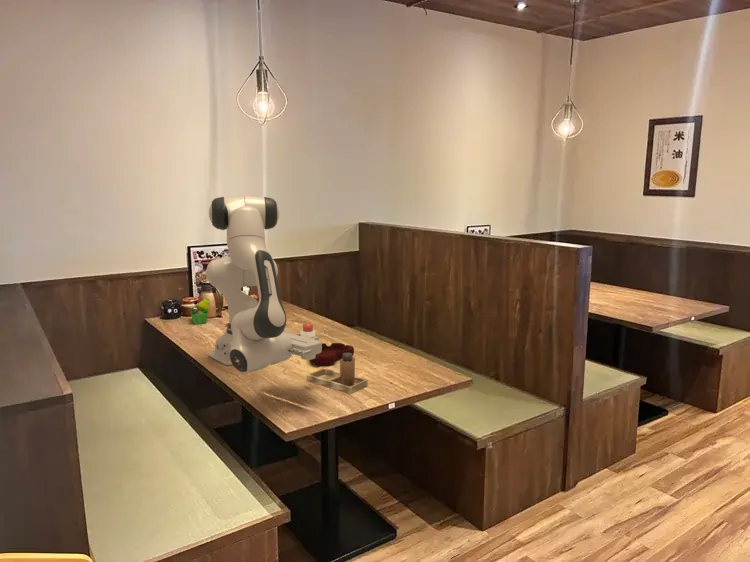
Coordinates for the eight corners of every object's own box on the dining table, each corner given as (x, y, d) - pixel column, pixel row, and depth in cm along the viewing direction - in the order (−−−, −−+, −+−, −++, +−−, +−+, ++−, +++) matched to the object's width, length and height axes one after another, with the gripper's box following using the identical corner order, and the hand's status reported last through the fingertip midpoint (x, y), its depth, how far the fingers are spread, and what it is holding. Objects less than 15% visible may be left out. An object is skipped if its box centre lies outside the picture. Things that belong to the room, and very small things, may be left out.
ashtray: (327, 350, 231) (327, 338, 230) (358, 359, 221) (358, 346, 220) (294, 361, 217) (293, 349, 216) (325, 371, 207) (325, 358, 206)
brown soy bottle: (337, 386, 189) (337, 354, 187) (346, 382, 193) (346, 350, 191) (348, 390, 186) (348, 357, 184) (357, 385, 190) (357, 353, 188)
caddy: (306, 383, 195) (306, 374, 194) (324, 376, 202) (324, 367, 201) (350, 396, 183) (350, 387, 183) (367, 388, 190) (367, 379, 190)
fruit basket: (191, 319, 275) (189, 296, 273) (210, 318, 278) (209, 295, 276) (191, 325, 265) (189, 301, 263) (211, 324, 267) (210, 300, 265)
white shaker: (297, 357, 186) (297, 324, 184) (308, 354, 190) (307, 321, 188) (308, 360, 184) (308, 327, 181) (318, 357, 187) (318, 324, 185)
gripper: (303, 344, 169) (334, 333, 180) (255, 331, 181) (287, 322, 192) (303, 364, 170) (334, 353, 181) (256, 350, 182) (288, 340, 193)
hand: (310, 337), depth 186 cm, fingers closed on white shaker, 5 cm apart
